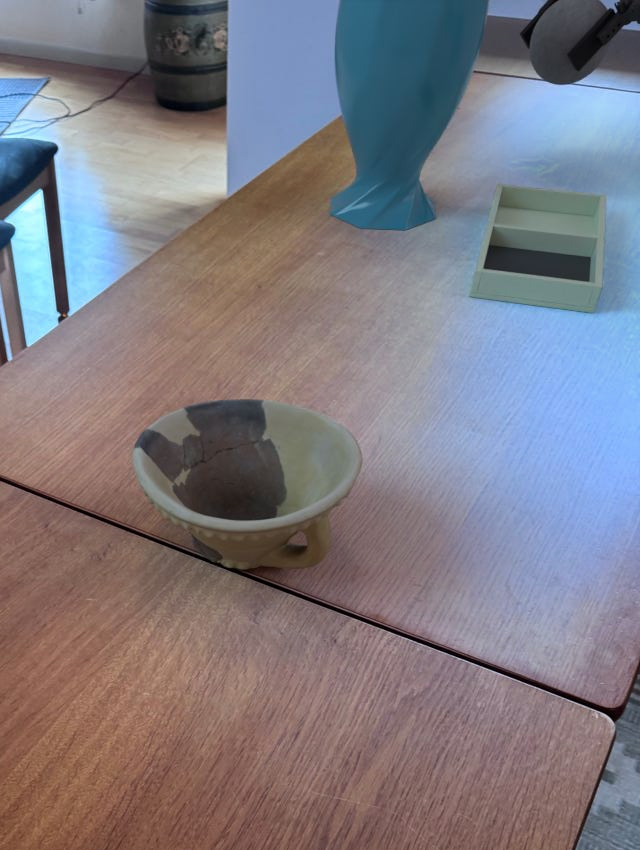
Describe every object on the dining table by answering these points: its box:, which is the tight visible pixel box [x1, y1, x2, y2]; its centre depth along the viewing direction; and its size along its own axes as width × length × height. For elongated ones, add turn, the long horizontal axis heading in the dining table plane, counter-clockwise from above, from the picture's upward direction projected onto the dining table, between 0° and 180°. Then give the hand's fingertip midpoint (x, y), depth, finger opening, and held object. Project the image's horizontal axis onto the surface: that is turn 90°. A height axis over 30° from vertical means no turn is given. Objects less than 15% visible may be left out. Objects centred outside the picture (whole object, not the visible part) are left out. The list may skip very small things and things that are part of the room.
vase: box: [328, 0, 490, 231], centre depth 112 cm, size 17×17×30 cm
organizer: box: [468, 183, 607, 314], centre depth 111 cm, size 14×26×3 cm, turn 161°
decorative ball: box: [529, 0, 612, 86], centre depth 120 cm, size 10×10×10 cm
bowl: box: [131, 398, 364, 570], centre depth 73 cm, size 18×18×10 cm
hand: (548, 52), depth 120 cm, fingers closed on decorative ball, 10 cm apart
